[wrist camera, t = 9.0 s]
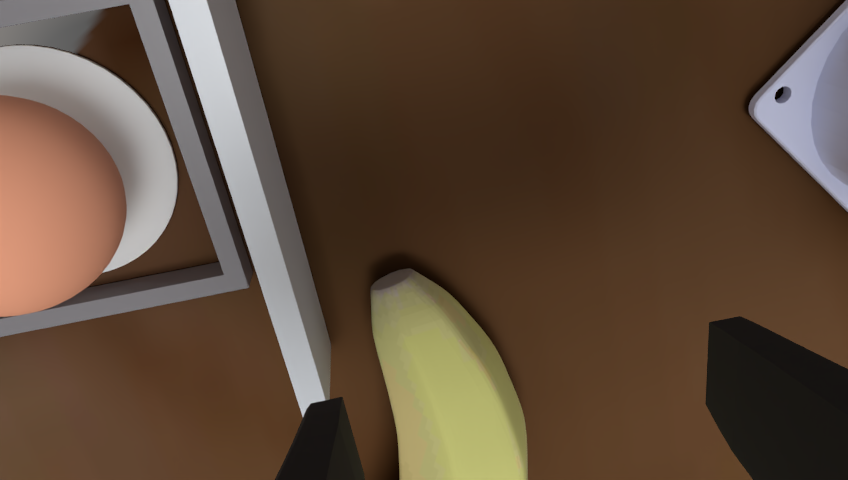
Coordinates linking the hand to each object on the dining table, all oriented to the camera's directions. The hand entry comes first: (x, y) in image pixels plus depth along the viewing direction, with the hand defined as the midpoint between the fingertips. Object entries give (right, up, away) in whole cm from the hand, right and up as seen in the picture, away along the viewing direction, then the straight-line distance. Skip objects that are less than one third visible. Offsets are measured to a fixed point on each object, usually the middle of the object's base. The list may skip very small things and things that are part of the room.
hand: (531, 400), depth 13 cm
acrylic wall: (-7, +6, +7) cm, 12 cm away
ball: (-13, +4, +4) cm, 14 cm away
